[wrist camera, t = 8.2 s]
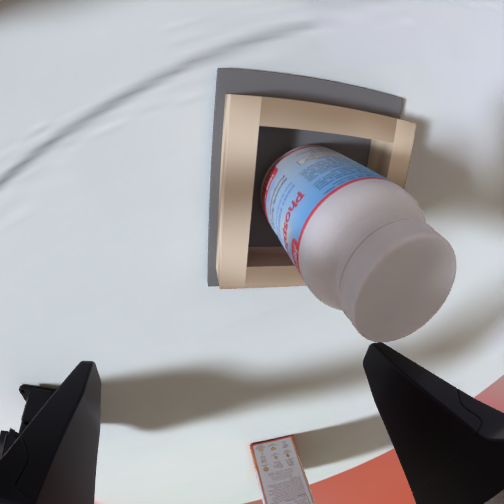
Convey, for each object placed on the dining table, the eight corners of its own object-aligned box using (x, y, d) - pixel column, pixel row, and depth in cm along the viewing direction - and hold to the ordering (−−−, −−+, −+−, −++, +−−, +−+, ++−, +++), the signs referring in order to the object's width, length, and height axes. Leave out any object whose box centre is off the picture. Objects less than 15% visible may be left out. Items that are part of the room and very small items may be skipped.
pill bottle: (243, 165, 18) (311, 261, 9) (336, 130, 18) (472, 186, 9) (276, 248, 21) (346, 379, 12) (357, 213, 21) (465, 312, 12)
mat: (360, 275, 25) (363, 279, 24) (207, 281, 22) (208, 286, 22) (397, 97, 18) (402, 98, 18) (217, 68, 16) (218, 68, 15)
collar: (363, 263, 24) (378, 281, 21) (216, 267, 21) (219, 289, 19) (393, 117, 18) (416, 123, 16) (225, 93, 16) (231, 94, 14)
